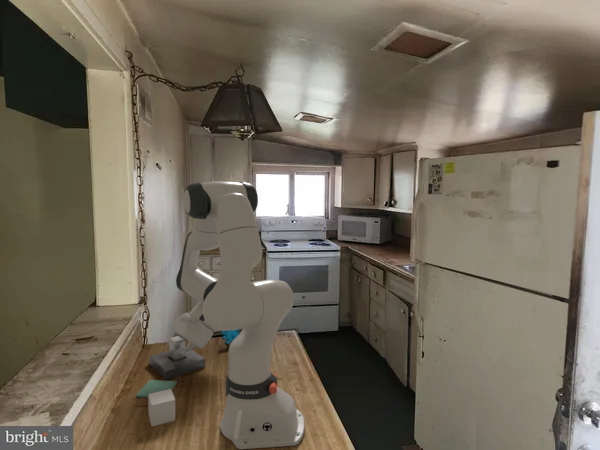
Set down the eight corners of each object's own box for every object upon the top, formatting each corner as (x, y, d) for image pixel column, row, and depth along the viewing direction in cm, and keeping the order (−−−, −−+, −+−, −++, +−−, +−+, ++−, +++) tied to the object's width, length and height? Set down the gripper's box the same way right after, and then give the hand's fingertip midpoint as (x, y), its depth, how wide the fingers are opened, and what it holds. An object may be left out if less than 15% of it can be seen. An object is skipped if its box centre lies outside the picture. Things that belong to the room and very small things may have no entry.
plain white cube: (151, 427, 94) (151, 405, 93) (148, 414, 99) (148, 394, 99) (175, 420, 97) (175, 399, 96) (170, 408, 102) (170, 388, 102)
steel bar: (179, 361, 130) (180, 335, 129) (184, 366, 127) (185, 338, 126) (169, 365, 127) (169, 338, 126) (174, 369, 124) (174, 341, 123)
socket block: (186, 353, 137) (186, 345, 137) (204, 366, 127) (204, 358, 127) (149, 364, 127) (149, 356, 127) (166, 379, 117) (166, 371, 117)
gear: (229, 347, 139) (219, 325, 144) (220, 355, 142) (212, 332, 147) (249, 343, 148) (240, 322, 153) (241, 350, 151) (232, 329, 155)
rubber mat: (177, 383, 116) (177, 381, 115) (165, 398, 107) (165, 397, 106) (149, 381, 116) (149, 379, 116) (136, 397, 107) (136, 395, 107)
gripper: (183, 305, 138) (157, 336, 132) (209, 320, 123) (182, 355, 117) (193, 314, 141) (169, 344, 135) (220, 329, 127) (195, 364, 121)
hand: (175, 349), depth 126 cm, fingers open, 8 cm apart
